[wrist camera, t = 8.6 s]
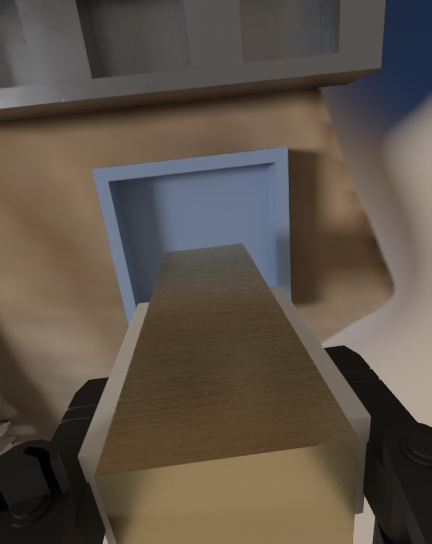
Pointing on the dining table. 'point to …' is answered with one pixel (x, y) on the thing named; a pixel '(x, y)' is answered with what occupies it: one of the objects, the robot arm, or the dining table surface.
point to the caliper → (8, 441)
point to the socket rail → (177, 50)
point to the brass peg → (225, 419)
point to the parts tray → (195, 214)
